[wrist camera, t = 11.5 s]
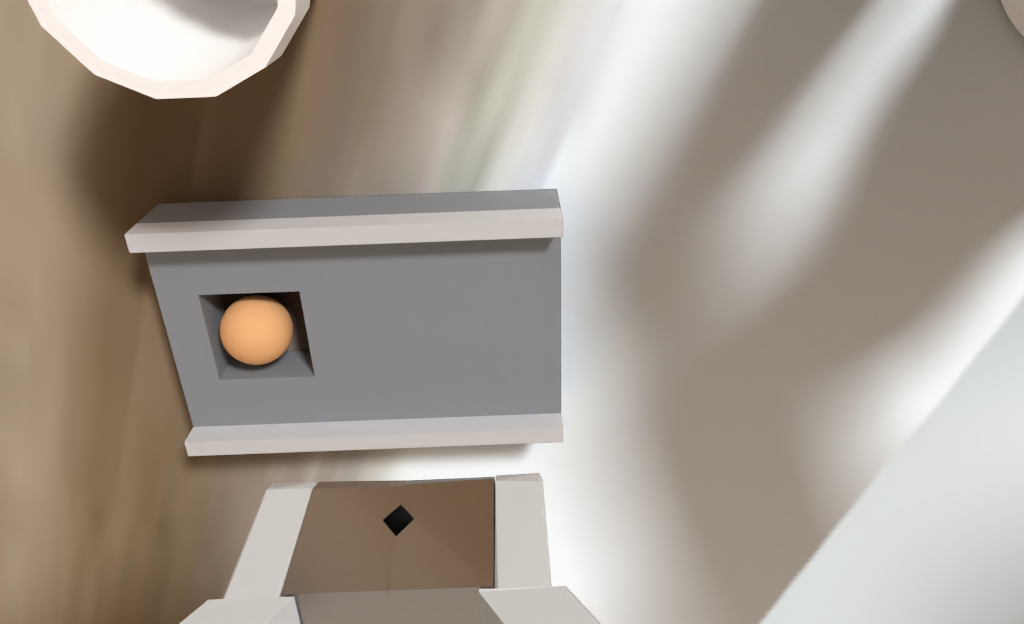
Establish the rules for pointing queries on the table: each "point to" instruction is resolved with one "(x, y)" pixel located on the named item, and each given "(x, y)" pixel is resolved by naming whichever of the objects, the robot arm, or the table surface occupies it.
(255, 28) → the foam cup
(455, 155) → the table surface
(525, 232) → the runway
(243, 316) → the ball
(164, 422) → the table surface
